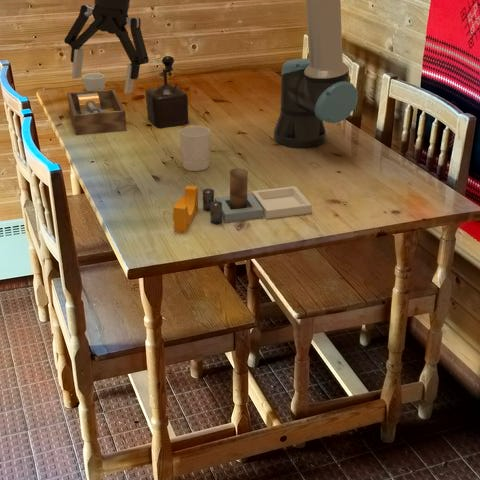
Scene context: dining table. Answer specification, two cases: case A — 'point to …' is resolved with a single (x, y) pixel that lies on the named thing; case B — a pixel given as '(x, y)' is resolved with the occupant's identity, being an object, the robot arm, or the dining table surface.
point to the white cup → (195, 147)
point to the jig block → (240, 210)
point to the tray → (282, 202)
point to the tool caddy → (98, 114)
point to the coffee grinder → (167, 101)
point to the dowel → (238, 188)
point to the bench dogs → (212, 206)
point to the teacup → (94, 81)
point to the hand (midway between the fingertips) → (102, 85)
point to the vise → (88, 103)
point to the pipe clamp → (185, 209)
